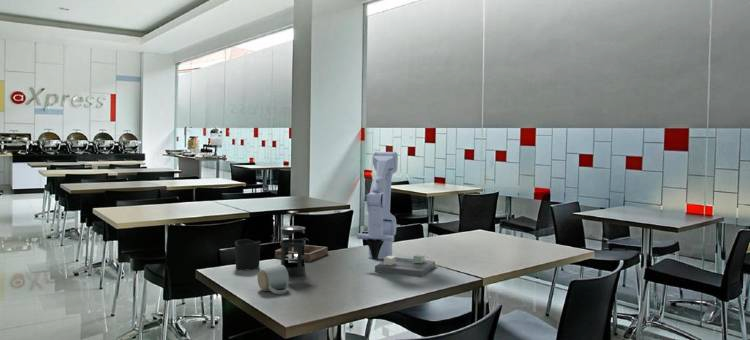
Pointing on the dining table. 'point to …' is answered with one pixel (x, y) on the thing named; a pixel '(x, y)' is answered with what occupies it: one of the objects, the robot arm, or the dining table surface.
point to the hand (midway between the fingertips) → (375, 259)
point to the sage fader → (419, 258)
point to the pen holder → (247, 254)
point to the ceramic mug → (274, 279)
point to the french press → (292, 267)
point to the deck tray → (311, 254)
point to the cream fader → (389, 260)
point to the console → (406, 267)
